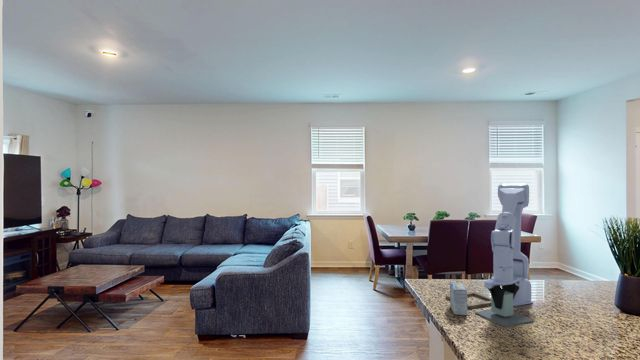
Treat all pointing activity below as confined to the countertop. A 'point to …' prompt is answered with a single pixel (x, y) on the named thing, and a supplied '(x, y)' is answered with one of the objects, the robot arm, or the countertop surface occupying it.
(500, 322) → the rubber mat
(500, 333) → the countertop surface
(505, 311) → the sage block
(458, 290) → the medicine box
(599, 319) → the countertop surface
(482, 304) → the holder frame
